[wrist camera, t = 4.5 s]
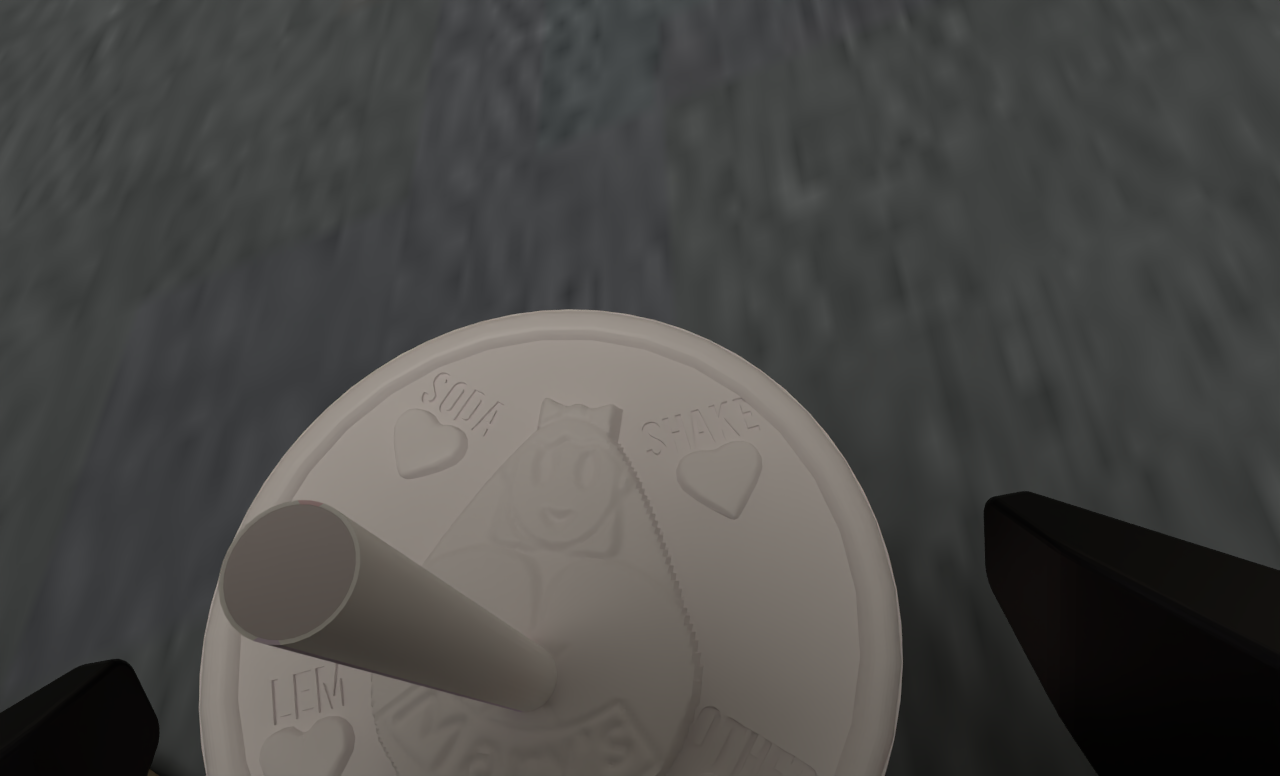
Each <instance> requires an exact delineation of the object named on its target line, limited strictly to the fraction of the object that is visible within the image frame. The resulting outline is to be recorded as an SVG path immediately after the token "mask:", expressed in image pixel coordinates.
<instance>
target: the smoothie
mask: <svg viewBox="0 0 1280 776" xmlns="http://www.w3.org/2000/svg"><path fill="white" fill-rule="evenodd" d="M902 669H903V653H902V626H901V618H900V610H899V603H898V596H897V588H896V584H895V580H894V576H893V571H892V567H891V563H890V559H889V554H888V551H887V548H886V546H885V543H884V540H883V537H882V534H881V531H880V528H879V525H878V522H877V520H876V517H875V515H874V513H873V511H872V508H871V506H870V504H869V502H868V500H867V497H866V495H865V493H864V491H863V489H862V487H861V485H860V484H859V482H858V480H857V478H856V477H855V475H854V473H853V471H852V470H851V468H850V466H849V464H848V463H847V461H846V460H845V458H844V457H843V455H842V454H841V452H840V451H839V450H838V448H837V447H836V445H835V444H834V443H833V441H832V440H831V438H830V437H829V435H828V434H827V433H826V432H825V431H824V430H823V428H822V427H821V426H820V425H819V424H818V423H817V421H816V420H815V419H814V418H813V417H812V416H811V414H810V413H809V412H808V411H807V410H806V409H805V408H804V407H803V406H802V405H801V404H800V403H799V402H798V401H797V400H796V399H795V398H794V397H792V396H791V395H790V394H789V393H788V392H787V391H786V390H785V389H784V388H783V387H781V386H780V385H779V384H778V383H776V382H775V381H774V380H773V379H771V378H770V377H769V376H768V375H766V374H765V373H764V372H763V371H761V370H760V369H758V368H757V367H755V366H754V365H752V364H751V363H749V362H748V361H746V360H744V359H743V358H741V357H740V356H738V355H737V354H735V353H733V352H731V351H729V350H728V349H726V348H724V347H722V346H720V345H718V344H716V343H714V342H712V341H711V340H708V339H706V338H703V337H701V336H699V335H696V334H694V333H691V332H689V331H687V330H684V329H681V328H678V327H675V326H672V325H669V324H665V323H662V322H659V321H656V320H652V319H647V318H642V317H638V316H633V315H629V314H622V313H614V312H606V311H597V310H570V309H569V310H549V311H536V312H529V313H521V314H514V315H509V316H504V317H500V318H495V319H491V320H486V321H482V322H479V323H476V324H473V325H469V326H466V327H463V328H460V329H457V330H454V331H451V332H449V333H446V334H444V335H441V336H439V337H437V338H434V339H432V340H429V341H427V342H425V343H423V344H421V345H419V346H417V347H415V348H413V349H411V350H409V351H407V352H405V353H403V354H401V355H399V356H398V357H396V358H394V359H393V360H391V361H390V362H388V363H386V364H385V365H383V366H381V367H380V368H378V369H377V370H375V371H374V372H372V373H371V374H369V375H368V376H367V377H365V378H364V379H363V380H361V381H360V382H358V383H357V384H356V385H354V386H353V387H351V388H350V389H349V390H348V391H347V392H345V393H344V394H343V395H342V396H341V397H340V398H338V399H337V400H336V401H335V402H334V403H333V404H332V405H330V406H329V407H328V408H327V409H326V410H325V411H324V412H323V413H322V414H321V415H320V416H319V417H318V418H317V419H316V420H315V421H314V422H313V423H312V424H311V425H310V426H309V427H308V428H307V429H306V430H305V431H304V432H303V433H302V435H301V436H300V437H299V438H298V439H297V440H296V442H295V443H294V444H293V445H292V446H291V448H290V449H289V450H288V451H287V452H286V453H285V455H284V456H283V457H282V459H281V460H280V461H279V463H278V464H277V466H276V467H275V468H274V470H273V471H272V473H271V474H270V475H269V477H268V478H267V480H266V481H265V483H264V484H263V486H262V488H261V489H260V491H259V493H258V494H257V496H256V498H255V499H254V501H253V503H252V504H251V506H250V508H249V509H248V511H247V513H246V515H245V517H244V519H243V521H242V523H241V525H240V527H239V529H238V531H237V533H236V535H235V538H234V540H233V542H232V544H231V545H230V547H229V549H228V551H227V553H226V555H225V558H224V560H223V563H222V567H221V571H220V575H219V579H218V583H217V586H216V589H215V593H214V596H213V600H212V603H211V607H210V612H209V617H208V621H207V626H206V631H205V636H204V642H203V651H202V660H201V668H200V687H199V718H200V733H201V747H202V753H203V759H204V765H205V771H206V776H885V773H886V770H887V766H888V762H889V758H890V754H891V751H892V747H893V743H894V739H895V733H896V726H897V720H898V714H899V707H900V701H901V685H902Z"/></svg>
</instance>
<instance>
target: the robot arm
mask: <svg viewBox="0 0 1280 776" xmlns="http://www.w3.org/2000/svg"><path fill="white" fill-rule="evenodd" d="M984 537H985V566H986V573H987V578H988V581H989V584H990V587H991V589H992V591H993V593H994V595H995V597H996V599H997V601H998V603H999V605H1000V607H1001V608H1002V610H1003V612H1004V614H1005V616H1006V618H1007V620H1008V622H1009V624H1010V625H1011V627H1012V629H1013V631H1014V633H1015V635H1016V637H1017V639H1018V641H1019V642H1020V644H1021V646H1022V648H1023V650H1024V652H1025V654H1026V656H1027V658H1028V659H1029V661H1030V663H1031V665H1032V667H1033V669H1034V671H1035V673H1036V675H1037V677H1038V678H1039V680H1040V682H1041V684H1042V686H1043V688H1044V690H1045V692H1046V694H1047V695H1048V697H1049V699H1050V701H1051V703H1052V704H1053V706H1054V708H1055V710H1056V711H1057V713H1058V715H1059V717H1060V718H1061V720H1062V721H1063V723H1064V725H1065V726H1066V728H1067V729H1068V731H1069V732H1070V734H1071V735H1072V737H1073V739H1074V740H1075V742H1076V743H1077V745H1078V746H1079V747H1080V749H1081V750H1082V752H1083V753H1084V755H1085V756H1086V758H1087V759H1088V761H1089V762H1090V764H1091V765H1092V767H1093V768H1094V770H1095V771H1096V772H1097V774H1098V775H1099V776H1280V571H1279V570H1276V569H1273V568H1270V567H1267V566H1263V565H1260V564H1257V563H1254V562H1251V561H1248V560H1244V559H1241V558H1238V557H1235V556H1232V555H1229V554H1225V553H1222V552H1219V551H1216V550H1213V549H1210V548H1206V547H1203V546H1200V545H1197V544H1194V543H1191V542H1187V541H1184V540H1181V539H1178V538H1175V537H1172V536H1168V535H1165V534H1162V533H1159V532H1156V531H1153V530H1149V529H1146V528H1143V527H1140V526H1137V525H1134V524H1130V523H1127V522H1124V521H1121V520H1118V519H1115V518H1111V517H1108V516H1105V515H1102V514H1099V513H1096V512H1092V511H1089V510H1086V509H1083V508H1080V507H1077V506H1073V505H1070V504H1067V503H1064V502H1061V501H1058V500H1054V499H1051V498H1048V497H1045V496H1042V495H1039V494H1035V493H1032V492H1028V491H1022V492H1016V493H1011V494H1006V495H1000V496H995V497H992V498H990V499H989V500H988V501H987V502H986V504H985V508H984ZM158 742H159V723H158V719H157V716H156V714H155V712H154V710H153V708H152V706H151V704H150V702H149V700H148V698H147V696H146V694H145V692H144V690H143V688H142V686H141V683H140V681H139V679H138V677H137V675H136V673H135V671H134V669H133V668H132V666H131V665H130V664H128V663H127V662H126V661H124V660H121V659H111V660H106V661H100V662H95V663H89V664H84V665H81V666H79V667H77V668H75V669H73V670H71V671H70V672H68V673H66V674H65V675H63V676H61V677H60V678H58V679H56V680H55V681H53V682H51V683H50V684H48V685H46V686H45V687H43V688H41V689H40V690H38V691H36V692H35V693H33V694H31V695H30V696H28V697H26V698H25V699H23V700H21V701H20V702H18V703H16V704H15V705H13V706H11V707H10V708H8V709H6V710H5V711H3V712H1V713H0V776H147V775H148V772H149V769H150V766H151V763H152V761H153V758H154V755H155V752H156V749H157V746H158Z"/></svg>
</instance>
